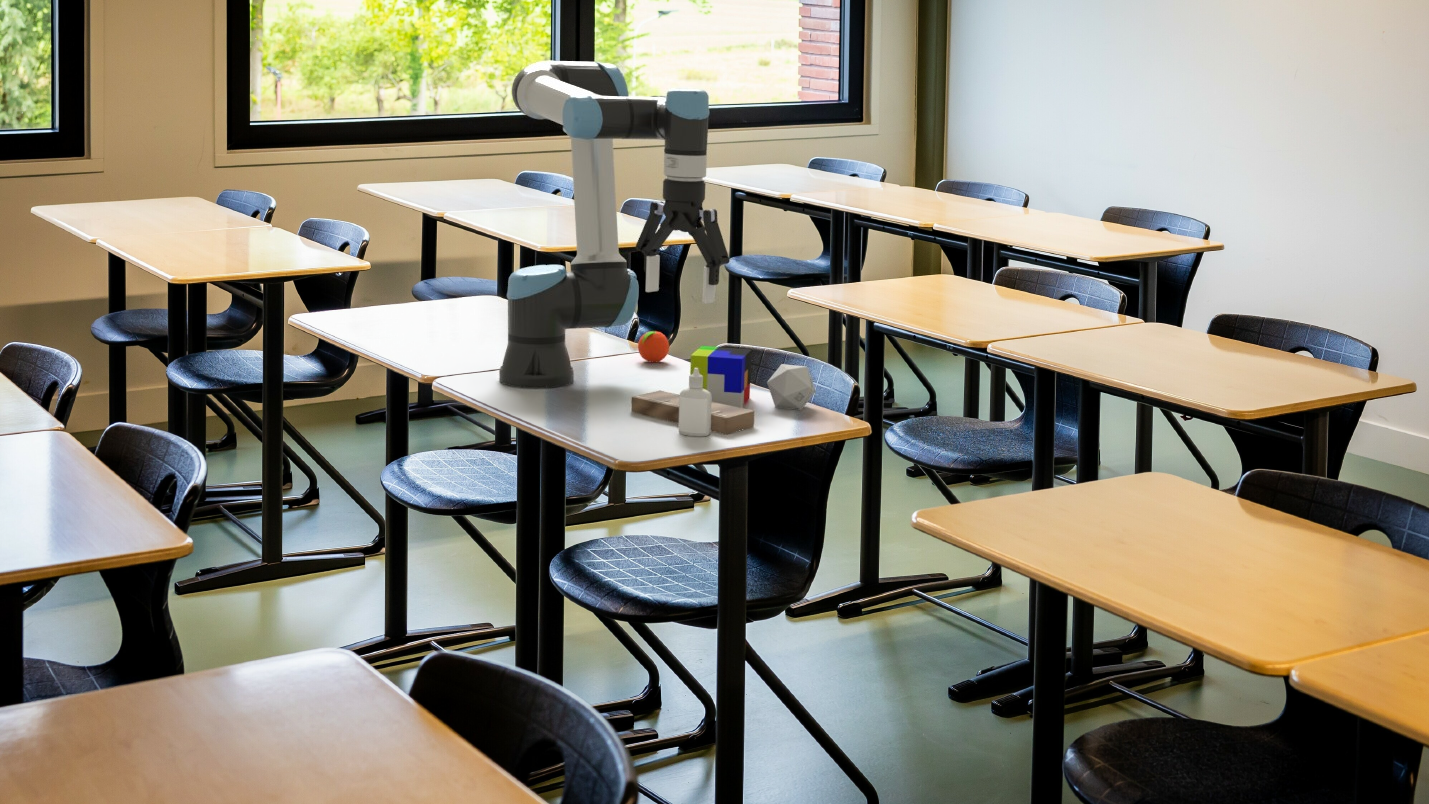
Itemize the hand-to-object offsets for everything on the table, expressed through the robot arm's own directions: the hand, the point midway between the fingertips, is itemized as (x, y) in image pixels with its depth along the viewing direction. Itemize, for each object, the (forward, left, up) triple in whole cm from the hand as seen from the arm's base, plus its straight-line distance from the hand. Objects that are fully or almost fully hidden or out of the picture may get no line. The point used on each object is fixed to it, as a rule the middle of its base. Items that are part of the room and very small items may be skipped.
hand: (679, 296), depth 254 cm
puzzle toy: (-4, +18, -23) cm, 30 cm away
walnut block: (+1, +3, -23) cm, 23 cm away
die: (+8, +25, -23) cm, 35 cm away
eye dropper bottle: (+9, -5, -23) cm, 25 cm away
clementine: (-39, +37, -23) cm, 58 cm away
